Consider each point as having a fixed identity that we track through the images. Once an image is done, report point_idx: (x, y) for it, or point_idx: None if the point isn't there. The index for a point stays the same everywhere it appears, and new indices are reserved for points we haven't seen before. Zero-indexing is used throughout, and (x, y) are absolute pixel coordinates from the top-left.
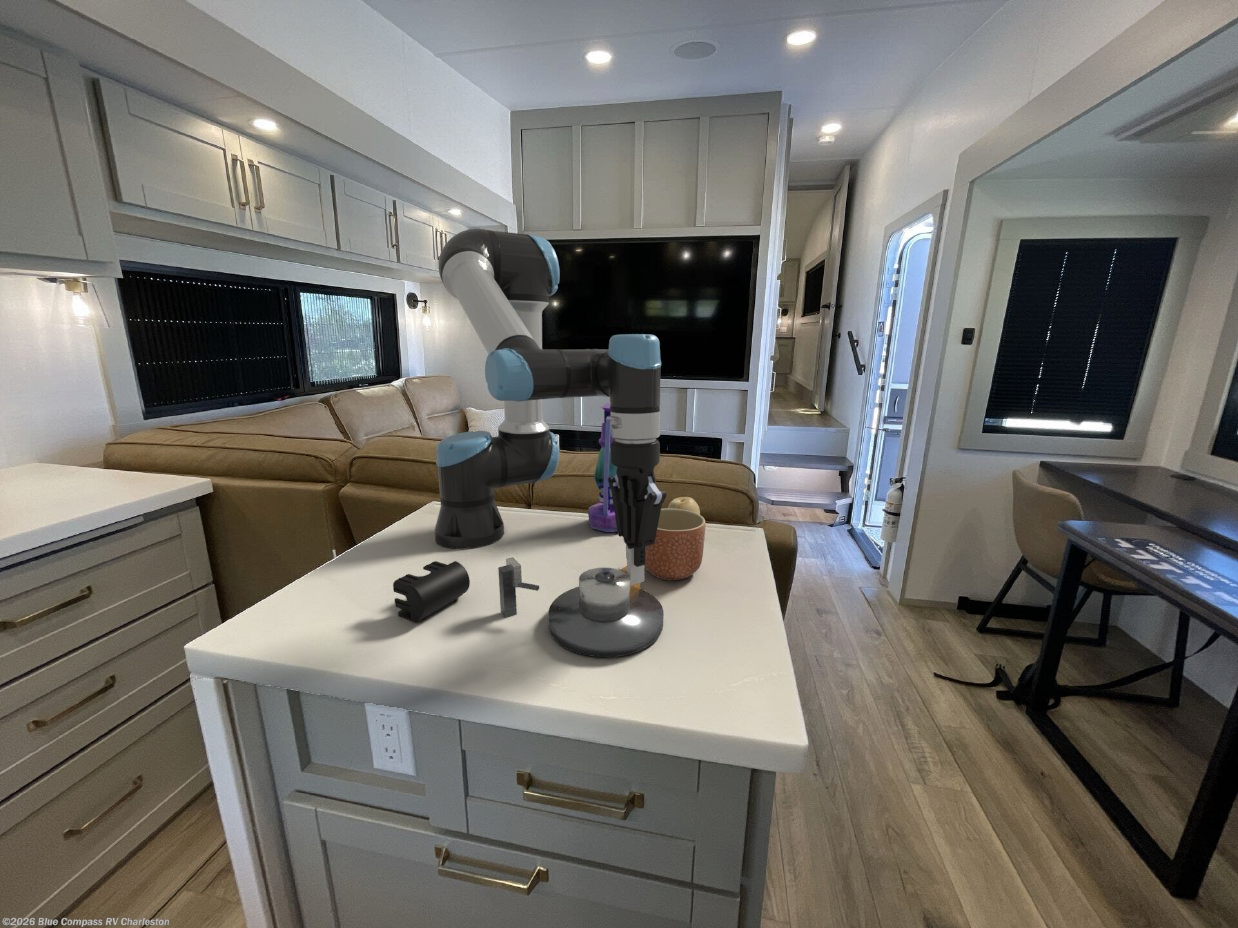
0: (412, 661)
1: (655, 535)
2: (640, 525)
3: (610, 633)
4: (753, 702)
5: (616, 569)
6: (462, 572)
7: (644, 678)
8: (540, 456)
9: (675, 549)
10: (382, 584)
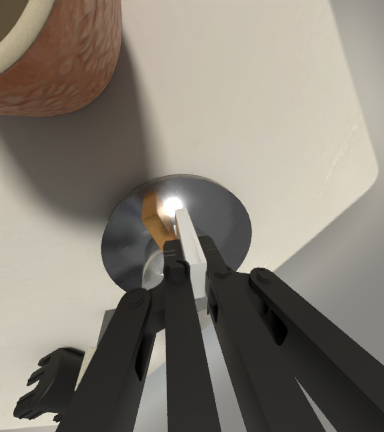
0: (157, 353)
1: (300, 297)
2: (303, 386)
3: (225, 261)
4: (347, 178)
5: (162, 263)
6: (55, 388)
7: (267, 240)
8: None
9: (103, 38)
10: (7, 395)
